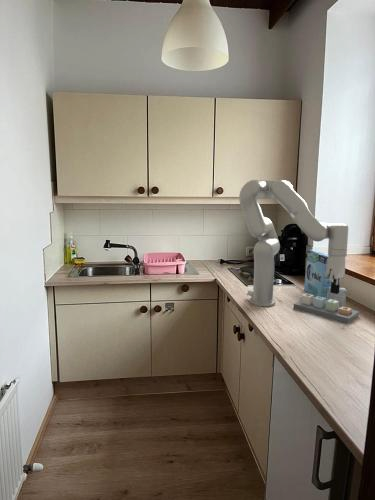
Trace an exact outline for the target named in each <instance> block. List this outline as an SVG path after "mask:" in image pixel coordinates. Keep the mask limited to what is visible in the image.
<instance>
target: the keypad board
mask: <svg viewBox="0 0 375 500" xmlns="http://www.w3.org/2000/svg"><path fill="white" fill-rule="evenodd" d="M301 302H302V299H301V300H299V301H297V302H294V303H293V307H292V308H293V310H295V311H299V312H304V313H306V314H311V315H315V316H317V317H321V318H325V319H328V320H332V321H336V322H340V323H343V324H347V325H350V324H351V323H352V322H354V321H355V320H356V319H358V318H359V317H360V311H358V310H354V309H352V313H351V314H350V315H345V314H341V313H339V308H341V307H339V306H338V310H337V311H335V312H334V311H330V310H326V306H325V307H323V308H318V307H314V306H313V304H311V305H307V304H303V303H301Z"/></svg>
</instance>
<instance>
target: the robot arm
mask: <svg viewBox="0 0 375 500" xmlns="http://www.w3.org/2000/svg"><path fill="white" fill-rule="evenodd" d="M293 187H294V186H293V184H291V182H290V181H288V180H283V179H279V180H264V179H263V180H261V179H251V180H248V181H247V182H246V183H245V184H244V185H243V186H242V188H241V189H240V191H239V195H238V200H239V205H240V208H241V210H242V213H243V217H244V220H245V222H246V225H247V229H248V231H249V234H250V235H251V236H252V237H254V238H257V239H258V241H257V242H256V243H255V245H254V247H253V265H254V266H253V267H254V268H253V287H252V288H253V289H252V290H247V293H246V296H249V297H250V298H249V304H251V305H253V306H257V307H272V306H274V305H276V304H277V301H276V300H275V298H273V296H274V281H275V279H274V277H275V255H277V254H278V253H279V251H280V248H281V244H280V240H279V238H278V234H277V232H276V228H275V227H274V224H273V222H272V221H271V219H270V218H268V217H266V216H264V214H263V212H262V211H263V210H262V208H261V206H260V204H259V202H258V199H275V200H276V201H277V202H278V204H279V205H280V206H281V207H283V209H284V210H285V211H286V212H287V213H288V214H289V215H290V217H291V219H292V220H293V221H294V222H295V223H296V225H297V226H298V227H299V228H300V230H301V231H303V233H304V234H305V235H306V237H308V238H309V239H310V240H311V241H314V242H323V240H326V239H327V240H328V245H327V246H328V247H327V255H328V259H327V265H326V275H325V277H326V278H329V277H330V278H329V282H331V293H334V294H338V293H339V288H341V287H340V286H341V279H342V278H343V277H344V276H345V274H346V257H347V255H348V254H347V252H348V243H349V242H348V241H349V240H348V239H349V226H348V224H345V223H327V222H319V220H318V219H317V218H316V217H315V216H314V215H313V214H312V213H311V211H310V210H309V207H308V203H307V202H306V201H305V199H303V198H302V197H301V196H300V195H299V194H298V193H297V192H296V191H295V190H294V188H293Z"/></svg>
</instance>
